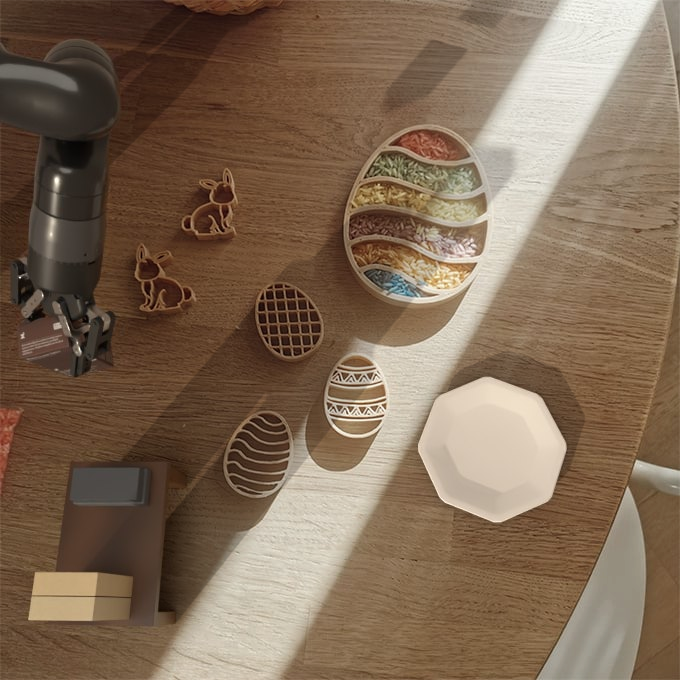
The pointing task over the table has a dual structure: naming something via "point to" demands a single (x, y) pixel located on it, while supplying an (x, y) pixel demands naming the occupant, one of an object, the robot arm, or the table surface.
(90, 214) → the robot arm
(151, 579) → the dark brown wooden stand
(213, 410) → the table surface
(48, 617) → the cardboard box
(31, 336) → the box
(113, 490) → the dark grey rectangular block
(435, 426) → the plate
